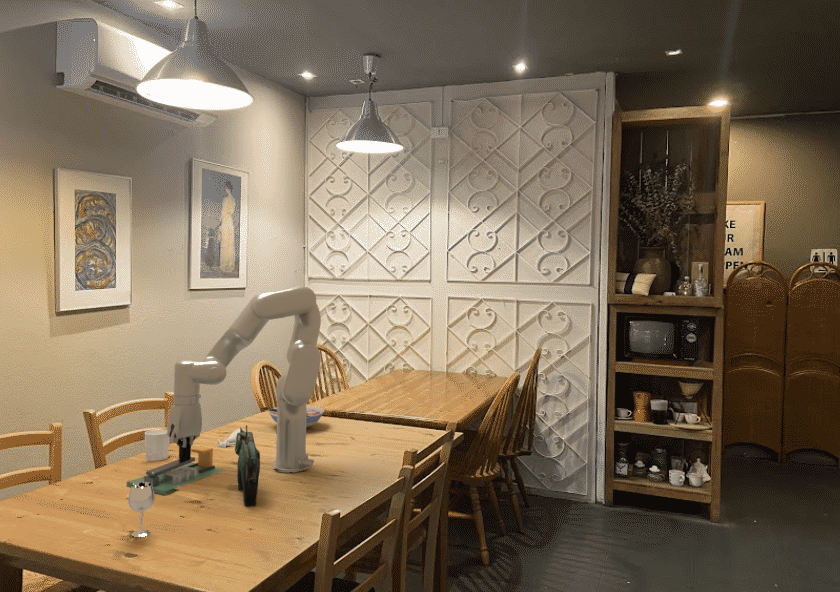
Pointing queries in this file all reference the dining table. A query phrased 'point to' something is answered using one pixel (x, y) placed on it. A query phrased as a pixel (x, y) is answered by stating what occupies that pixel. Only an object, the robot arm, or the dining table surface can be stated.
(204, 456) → the catch
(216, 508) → the dining table surface
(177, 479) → the heat sink
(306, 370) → the robot arm
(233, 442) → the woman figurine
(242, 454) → the dark green sculpted piece
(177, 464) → the dark grey flat bar
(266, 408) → the ramen bowl
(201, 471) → the circuit board
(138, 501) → the wineglass
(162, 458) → the white cup
